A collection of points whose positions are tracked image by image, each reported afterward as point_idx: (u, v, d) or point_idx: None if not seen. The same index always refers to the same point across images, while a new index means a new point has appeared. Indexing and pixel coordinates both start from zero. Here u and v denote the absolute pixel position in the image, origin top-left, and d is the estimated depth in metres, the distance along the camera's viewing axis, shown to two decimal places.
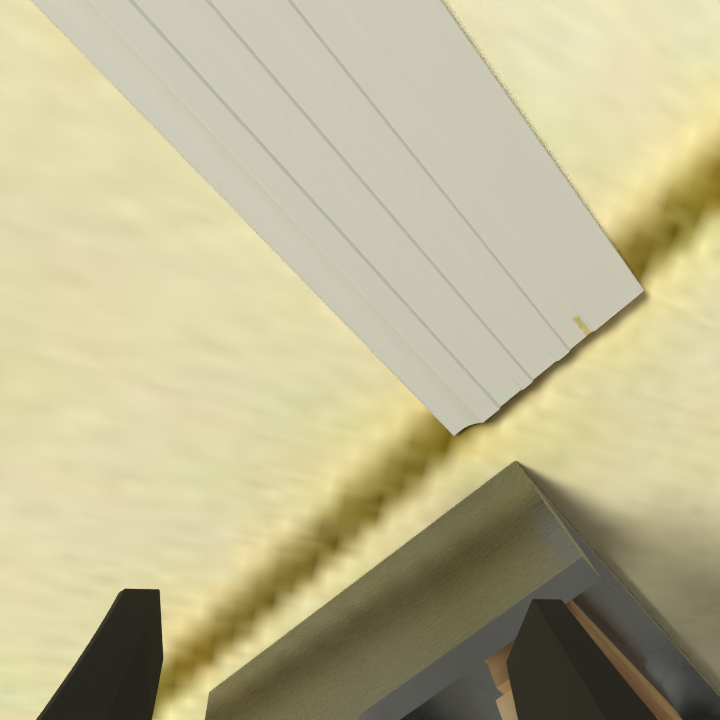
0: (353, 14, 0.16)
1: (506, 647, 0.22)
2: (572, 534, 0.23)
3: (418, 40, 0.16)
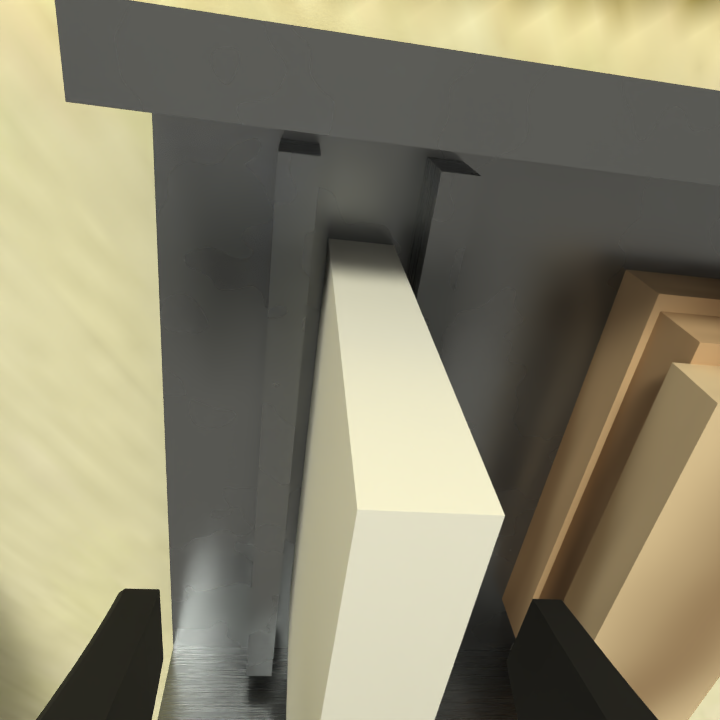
0: None
1: (709, 320, 0.13)
2: None
3: None
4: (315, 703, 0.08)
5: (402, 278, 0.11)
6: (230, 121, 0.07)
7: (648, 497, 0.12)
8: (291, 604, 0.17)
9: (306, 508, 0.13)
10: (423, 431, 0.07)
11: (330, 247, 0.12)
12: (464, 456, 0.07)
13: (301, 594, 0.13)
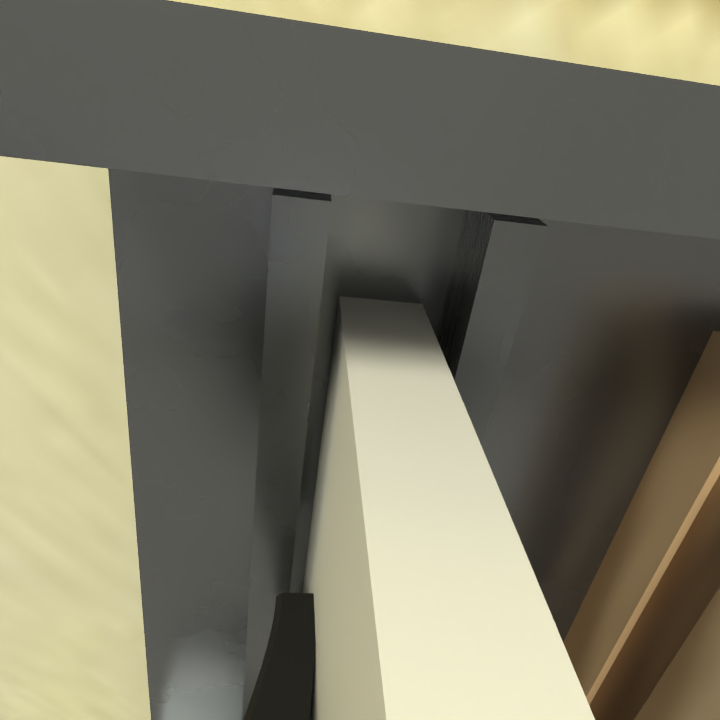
0: None
1: None
2: None
3: None
4: None
5: (439, 361, 0.08)
6: (190, 176, 0.05)
7: None
8: None
9: None
10: (512, 712, 0.04)
11: (342, 311, 0.10)
12: None
13: None
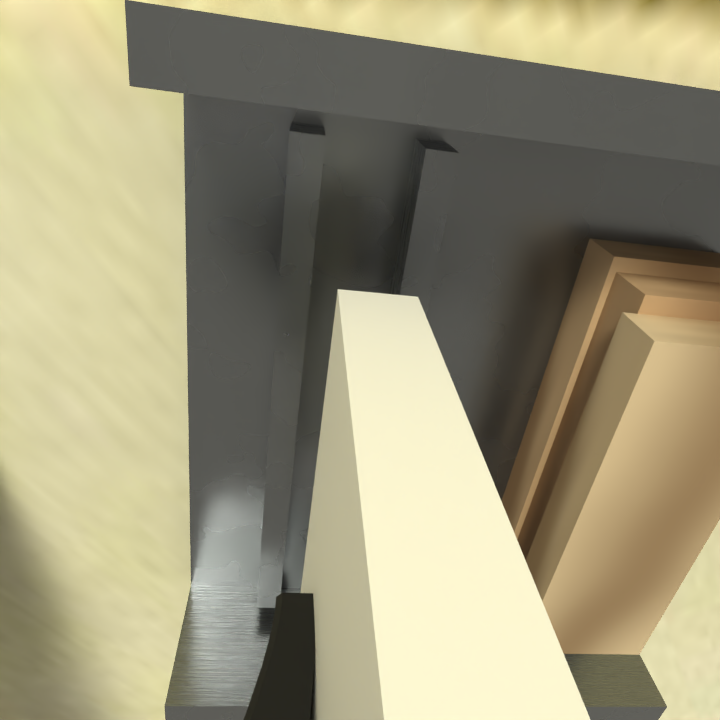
0: None
1: (657, 280, 0.15)
2: None
3: None
4: None
5: (433, 350, 0.09)
6: (255, 101, 0.10)
7: (603, 428, 0.14)
8: None
9: None
10: (494, 664, 0.04)
11: (340, 303, 0.10)
12: None
13: None
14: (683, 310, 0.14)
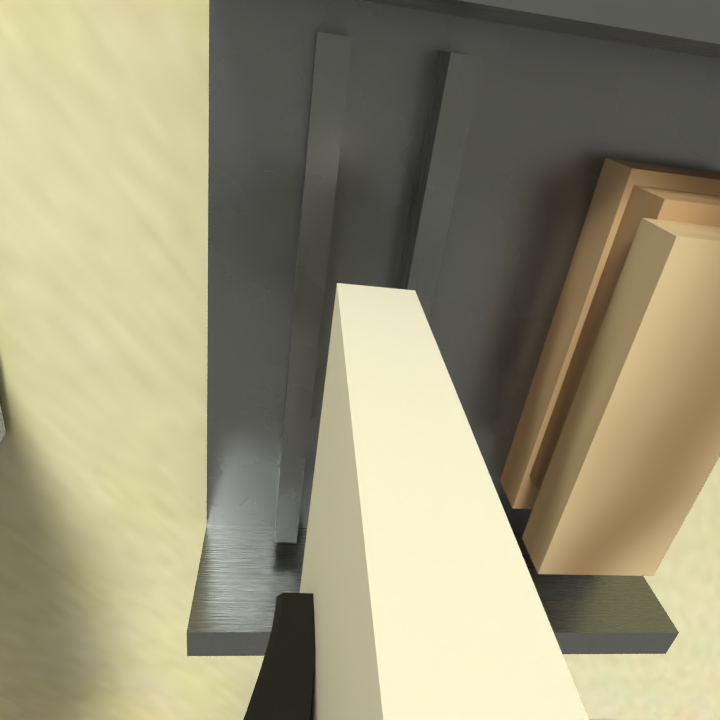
0: None
1: (674, 191, 0.15)
2: None
3: None
4: None
5: (429, 341, 0.09)
6: None
7: (623, 334, 0.15)
8: None
9: None
10: (482, 626, 0.05)
11: (339, 296, 0.10)
12: (549, 680, 0.04)
13: None
14: (701, 216, 0.14)
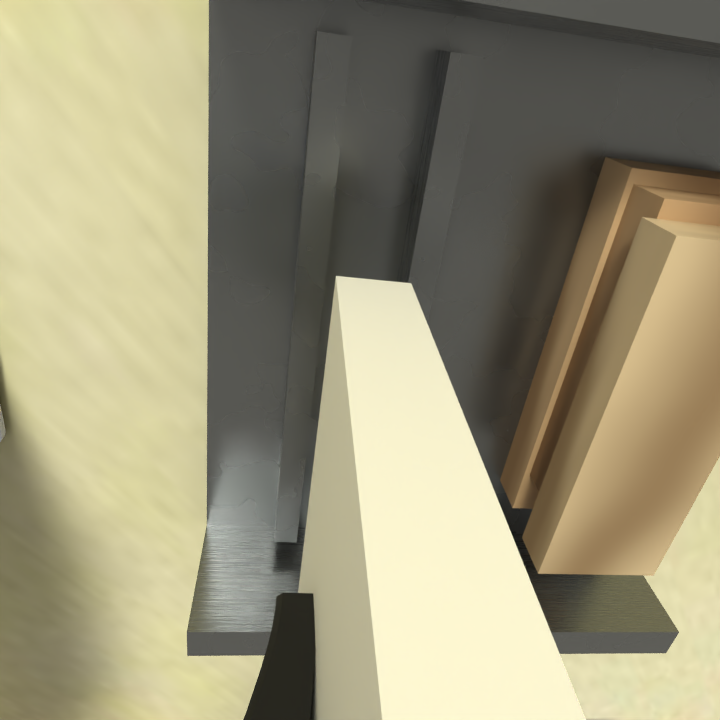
0: None
1: (674, 191, 0.15)
2: None
3: None
4: None
5: (424, 330, 0.10)
6: None
7: (623, 334, 0.15)
8: None
9: (309, 585, 0.12)
10: (468, 583, 0.05)
11: (338, 288, 0.11)
12: (527, 629, 0.05)
13: None
14: (701, 215, 0.14)
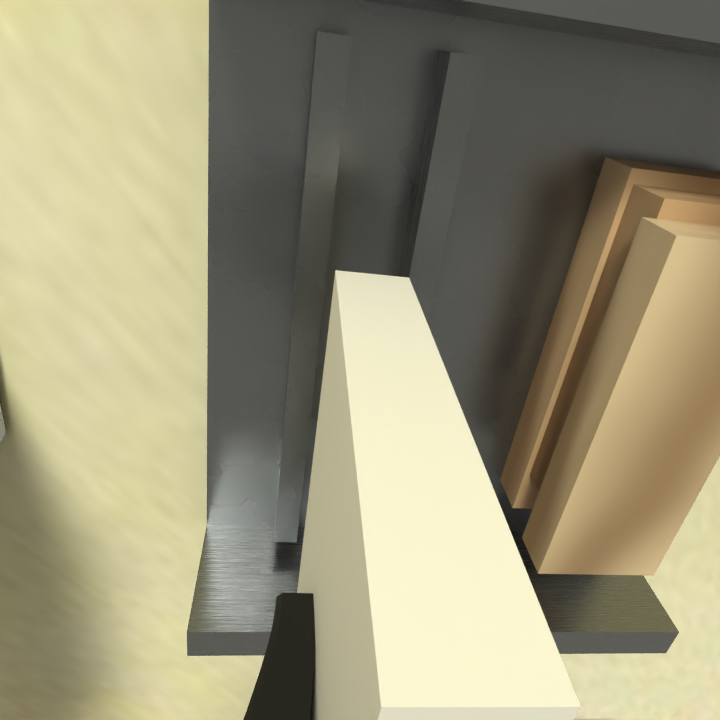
0: None
1: (674, 191, 0.15)
2: None
3: None
4: None
5: (421, 322, 0.10)
6: None
7: (623, 334, 0.15)
8: None
9: (309, 573, 0.12)
10: (460, 557, 0.05)
11: (337, 282, 0.11)
12: (517, 601, 0.05)
13: None
14: (701, 215, 0.14)
